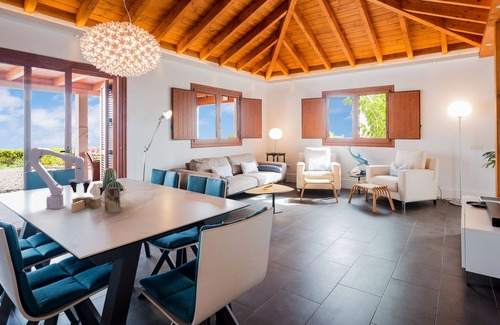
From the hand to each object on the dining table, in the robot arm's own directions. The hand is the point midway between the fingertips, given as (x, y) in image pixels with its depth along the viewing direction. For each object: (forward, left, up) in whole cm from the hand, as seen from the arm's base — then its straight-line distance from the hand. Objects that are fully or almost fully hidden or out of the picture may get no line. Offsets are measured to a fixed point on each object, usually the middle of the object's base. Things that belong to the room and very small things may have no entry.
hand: (80, 192), depth 206 cm
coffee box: (+29, -13, -10) cm, 33 cm away
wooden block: (+5, -1, -10) cm, 11 cm away
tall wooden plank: (+5, -12, -10) cm, 16 cm away
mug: (+25, -2, -10) cm, 27 cm away
